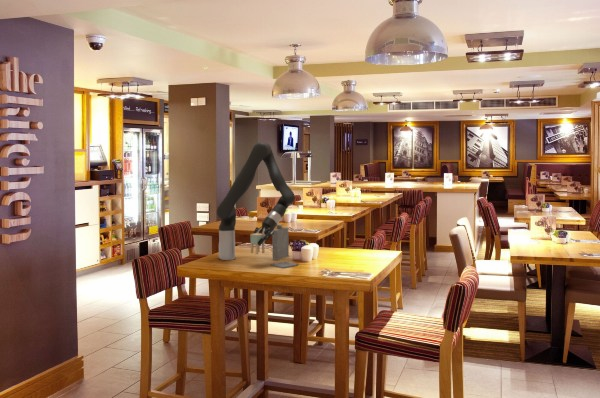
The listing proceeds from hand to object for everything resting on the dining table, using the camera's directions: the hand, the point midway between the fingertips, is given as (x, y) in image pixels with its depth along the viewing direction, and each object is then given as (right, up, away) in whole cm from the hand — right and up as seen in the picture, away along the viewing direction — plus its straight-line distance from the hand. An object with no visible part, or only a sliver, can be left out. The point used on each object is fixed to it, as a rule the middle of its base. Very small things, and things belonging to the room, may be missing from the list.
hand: (255, 243), depth 340 cm
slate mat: (+16, -12, +4) cm, 21 cm away
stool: (+1, -5, +2) cm, 6 cm away
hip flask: (+13, -11, +28) cm, 33 cm away
